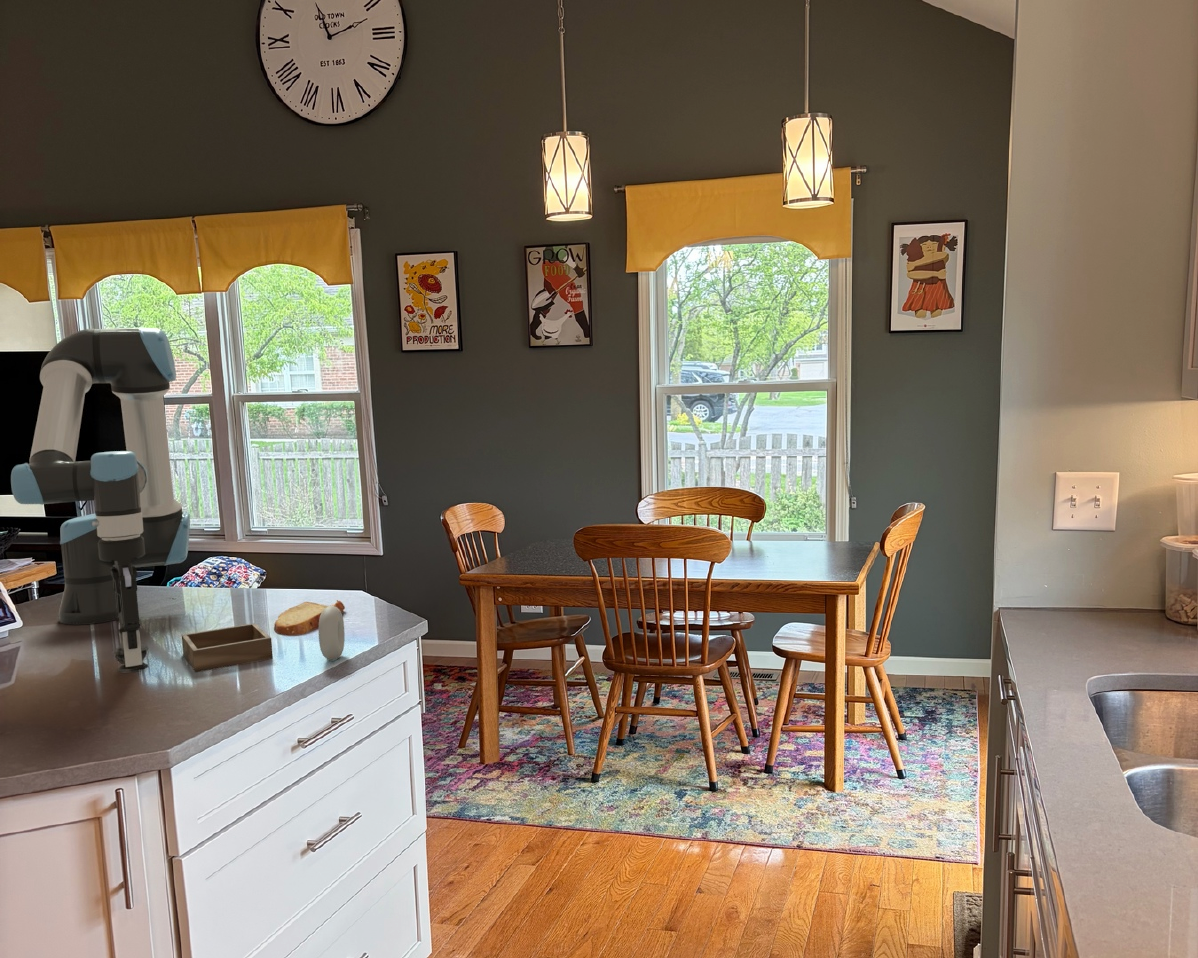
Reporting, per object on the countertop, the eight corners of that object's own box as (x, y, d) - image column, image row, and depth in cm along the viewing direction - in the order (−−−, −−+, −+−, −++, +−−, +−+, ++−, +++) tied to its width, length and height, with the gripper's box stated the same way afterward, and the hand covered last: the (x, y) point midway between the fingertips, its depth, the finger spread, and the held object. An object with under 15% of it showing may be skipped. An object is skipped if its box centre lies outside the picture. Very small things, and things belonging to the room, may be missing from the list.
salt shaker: (135, 673, 175) (130, 608, 173) (107, 672, 176) (101, 608, 175) (156, 663, 180) (151, 600, 179) (129, 662, 182) (123, 600, 180)
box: (183, 655, 186) (181, 634, 185) (256, 642, 193) (255, 623, 192) (195, 672, 174) (193, 650, 174) (272, 658, 181) (271, 637, 181)
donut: (329, 652, 184) (325, 600, 183) (347, 651, 184) (344, 599, 183) (318, 667, 174) (314, 613, 173) (338, 666, 175) (334, 612, 173)
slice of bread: (285, 639, 196) (283, 621, 196) (256, 622, 210) (254, 606, 210) (368, 623, 207) (367, 606, 206) (335, 608, 221) (333, 592, 221)
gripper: (93, 532, 181) (104, 652, 184) (102, 546, 165) (114, 677, 168) (137, 528, 185) (147, 646, 188) (150, 541, 169) (161, 669, 172)
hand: (131, 660), depth 178 cm, fingers closed on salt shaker, 6 cm apart
